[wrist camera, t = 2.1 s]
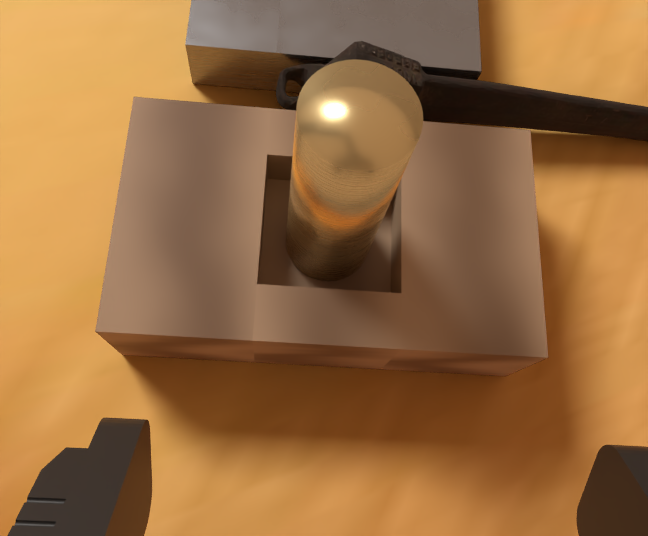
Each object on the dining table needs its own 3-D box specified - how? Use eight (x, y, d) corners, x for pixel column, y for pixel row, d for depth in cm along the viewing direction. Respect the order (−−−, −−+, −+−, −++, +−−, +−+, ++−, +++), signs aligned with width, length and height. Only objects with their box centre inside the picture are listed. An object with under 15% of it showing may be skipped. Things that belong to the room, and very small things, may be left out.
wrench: (811, 248, 34) (266, 182, 30) (788, 168, 36) (273, 96, 32) (909, 204, 29) (276, 118, 25) (877, 114, 31) (284, 21, 27)
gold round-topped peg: (283, 278, 26) (292, 165, 17) (288, 200, 27) (299, 53, 18) (367, 284, 26) (423, 175, 17) (369, 206, 28) (422, 65, 18)
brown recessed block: (122, 354, 27) (95, 331, 23) (152, 150, 30) (133, 96, 26) (505, 376, 28) (548, 357, 24) (494, 177, 31) (530, 130, 27)
